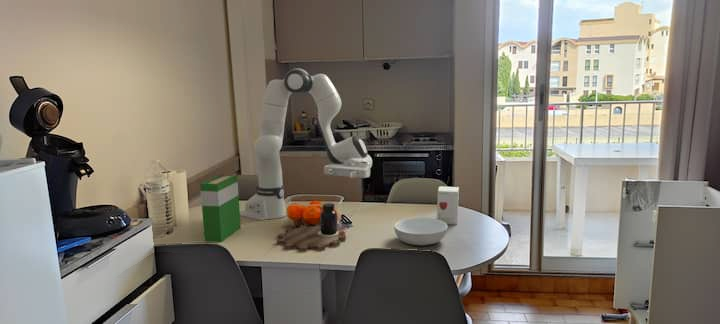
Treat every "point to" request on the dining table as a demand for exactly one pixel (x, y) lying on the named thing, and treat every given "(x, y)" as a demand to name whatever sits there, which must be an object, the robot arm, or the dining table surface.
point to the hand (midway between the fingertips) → (339, 174)
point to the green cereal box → (220, 207)
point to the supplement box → (448, 204)
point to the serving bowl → (420, 230)
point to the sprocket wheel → (309, 238)
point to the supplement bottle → (328, 219)
